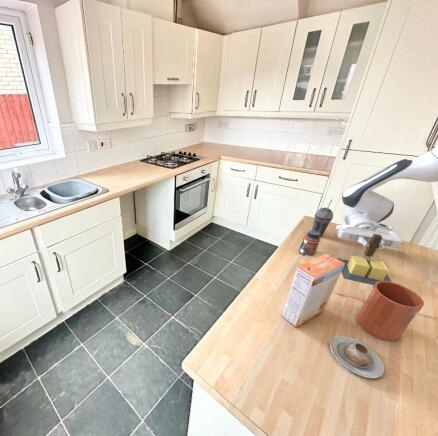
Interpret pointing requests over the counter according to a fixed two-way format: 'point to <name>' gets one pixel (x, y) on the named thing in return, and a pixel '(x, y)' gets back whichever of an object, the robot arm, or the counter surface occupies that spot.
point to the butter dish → (357, 278)
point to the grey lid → (357, 357)
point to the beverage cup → (322, 219)
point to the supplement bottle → (310, 243)
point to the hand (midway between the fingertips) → (373, 246)
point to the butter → (367, 268)
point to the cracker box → (311, 289)
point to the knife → (372, 247)
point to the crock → (388, 310)
